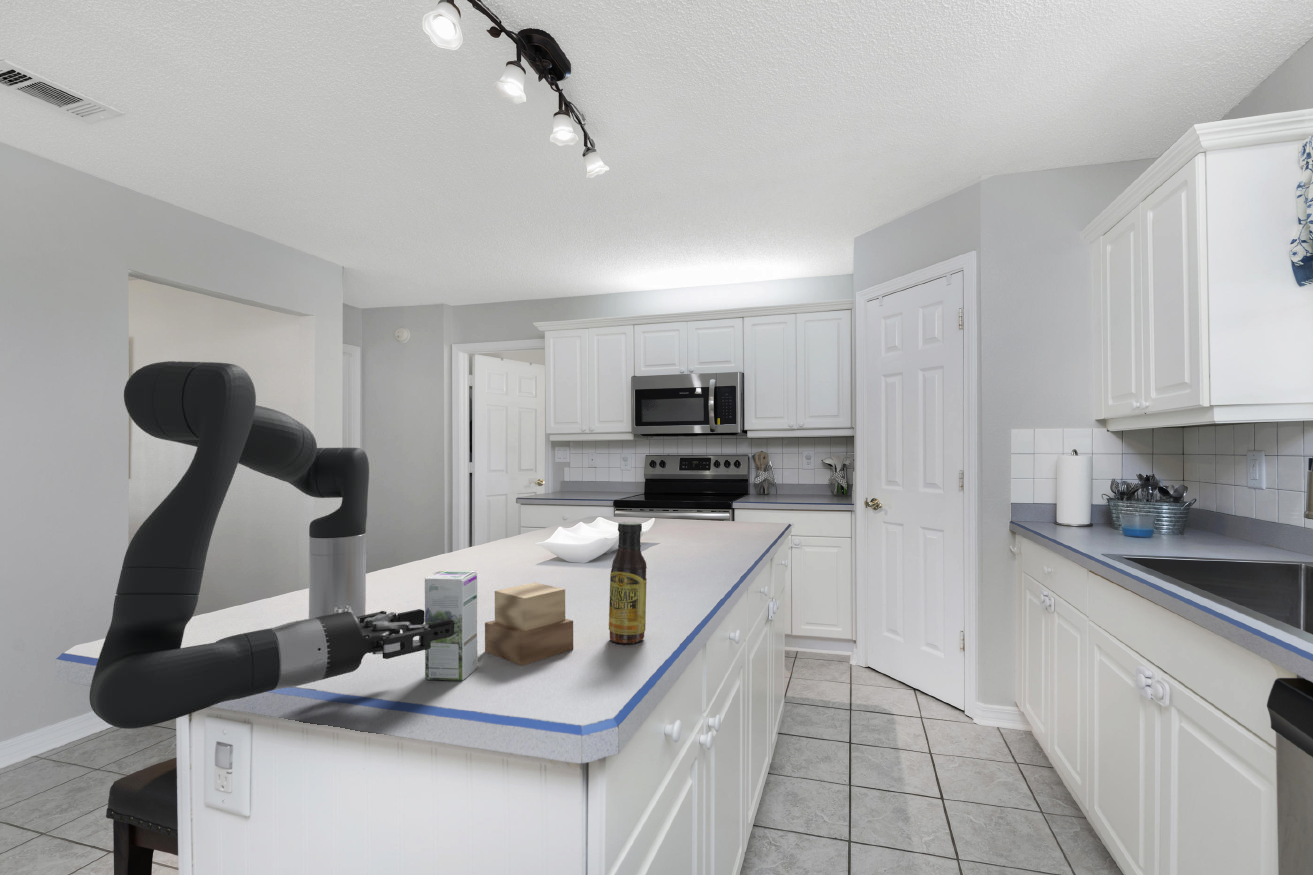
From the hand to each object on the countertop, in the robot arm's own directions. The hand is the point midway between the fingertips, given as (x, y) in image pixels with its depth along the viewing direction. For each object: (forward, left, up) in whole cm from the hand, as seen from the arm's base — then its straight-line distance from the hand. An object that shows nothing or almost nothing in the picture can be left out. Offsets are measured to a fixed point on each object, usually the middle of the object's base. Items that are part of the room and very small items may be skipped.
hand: (437, 621), depth 87 cm
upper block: (0, +16, -3) cm, 16 cm away
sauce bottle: (+8, +30, -8) cm, 32 cm away
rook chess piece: (-19, -6, -8) cm, 21 cm away
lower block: (0, +16, -8) cm, 18 cm away
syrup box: (0, +2, -8) cm, 8 cm away
